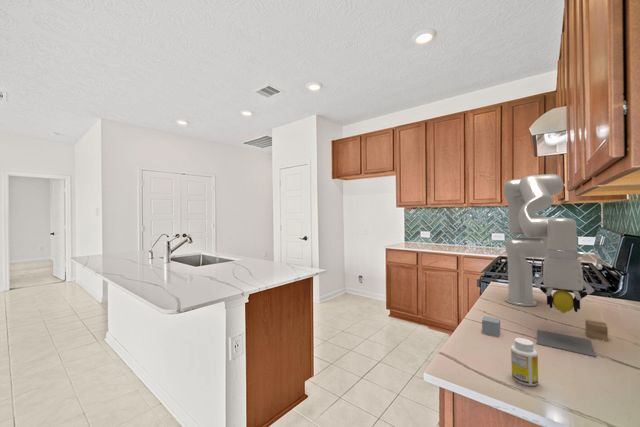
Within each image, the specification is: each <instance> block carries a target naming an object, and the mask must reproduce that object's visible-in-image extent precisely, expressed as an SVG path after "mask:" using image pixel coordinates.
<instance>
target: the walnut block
mask: <svg viewBox="0 0 640 427" xmlns="http://www.w3.org/2000/svg"><path fill="white" fill-rule="evenodd" d="M584 325H585V326H584V327H585V332H584V333H585V334H586V339H593V340H597V339H598V341H602V340H604V341H603V342H607V341H608V342H609V340H608V336H609V335H608V332H609V331H608V330H609V329H608V325H607V324H606V322H605V321H599V320H593V319H588V318H585V320H584Z"/></svg>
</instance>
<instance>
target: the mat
mask: <svg viewBox="0 0 640 427" xmlns="http://www.w3.org/2000/svg"><path fill="white" fill-rule="evenodd" d="M536 345H540V346H544V347H548V348H551V349H557V350H562V351H565V352H570V353H576V354H579V355H580V354H581V355H584V356H588V357H592V358H593V357H594V358H597V355H596V352H595V350H594V346H593V344H592V341H591V338H583V337H580V336H574V335H567V334H564V333H558V332H553V331H548V330H543V329H537V332H536Z"/></svg>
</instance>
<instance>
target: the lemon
mask: <svg viewBox="0 0 640 427" xmlns="http://www.w3.org/2000/svg"><path fill="white" fill-rule="evenodd" d="M552 306H553V308H555V309H557V310H558V311H560V313H562V314H565V313H567V312H570V311H572V310H574V297H573V295H572V294H571V293H570V292H569V291H568V290H564V289H557V290H556V291H554V293H553V294H552Z"/></svg>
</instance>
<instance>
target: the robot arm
mask: <svg viewBox="0 0 640 427" xmlns="http://www.w3.org/2000/svg"><path fill="white" fill-rule="evenodd" d="M563 188H564V182H563V179H562V178H561V176H559V175H558V174H555V173H548V174H547V173H546V174H532V175H527V176H526V175H525V176H524V177H522V178H515V179H510V180H507V181H506V182H504V184H503V195H504V198H505V202H506V203H507V206H508V207H507V208H508V210H507V211H508V212H507V213H508V229H509V232H510V233H511V234H513V235H525V236H526V237H523V236H522V237H521V236H520V237H517V236H516V237H510V238H507V240H506V241H505V243H504V244H505V247H504V248H505V251H506V257H507V277H508V278H507V281H508V282H507V283H508V284H507V285H508V286H507V287H508V291H507V292H508V296H506V297H504V301H505V302H506V303H509V304H511V305H516V306H521V307H536V306H537V305H538V302H537V300H535V299H533V296H534V294H533V292H534V291H533V288H534V287H533V284H534V286H535V287H537V289H540V291H541V292H542V293H543V294H545V295H546V305H548V306H549V308H550V309H553V308H554V306H553V302H552V296H553V294H552V292H553V290H554V289H556V290H561V289H564V290H565V291H572V292H573V294H574V297H573V299H574V307H573V311H574V312H575V313H578V310H581V300H582V299H583V298H586V297H587V296H588V295H590V294H592V293H594V292H595V289H594V288H593V287H592V286H591V285H590V284H588V282H587V281H585V280H584V274H583V267H582V263H581V259H578V258H580V257H583V258H584V253H583V252H580V251H578V246H577V245H578V242H577V241H578V240H577V239H578V238H577V237H578V236H577V221H576V220H575V219H574V218H570V217H569V218H565V217H548V216H546V215H544V214H537V213H539V212H542V211H545V210H547V209H549V208H550V207H552V205H553V202H554V199H553V196H555V195H558V194H560V193H561V192H562V191H563ZM526 258H537V259H541V258H543V259H544V260H543V265H542V266H543V267H542V276H541V277H539V278H538V279H536V280H535V281H534V282H533V268H532V264H530V263H531V262H529V261H528V260H527V259H526ZM541 283H543V285H542V284H541ZM584 288H585V290H584ZM580 291H581V292H580Z"/></svg>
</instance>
